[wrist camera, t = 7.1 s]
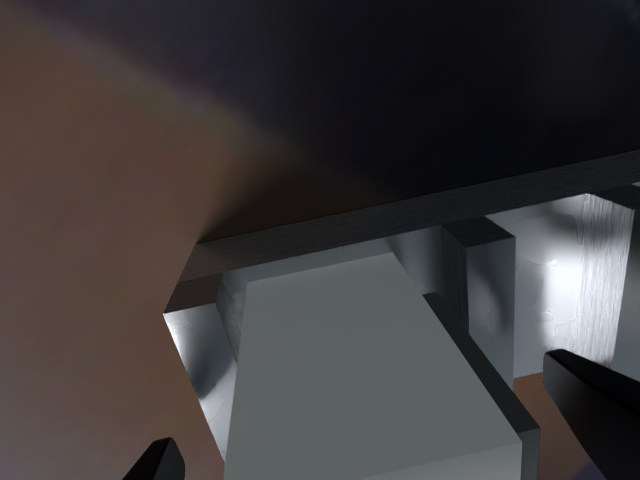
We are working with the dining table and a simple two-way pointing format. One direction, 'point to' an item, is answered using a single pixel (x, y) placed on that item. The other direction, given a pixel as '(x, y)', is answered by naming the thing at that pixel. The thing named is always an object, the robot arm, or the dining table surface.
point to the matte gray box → (368, 385)
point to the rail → (449, 271)
